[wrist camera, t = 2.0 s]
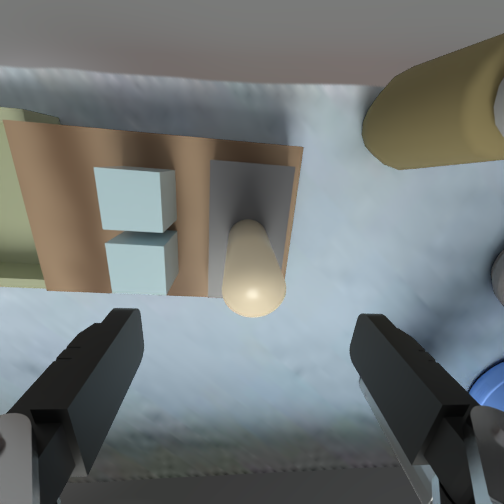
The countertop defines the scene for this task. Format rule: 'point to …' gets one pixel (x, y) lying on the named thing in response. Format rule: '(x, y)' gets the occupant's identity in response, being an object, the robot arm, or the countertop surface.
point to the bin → (17, 213)
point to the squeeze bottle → (442, 111)
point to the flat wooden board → (87, 205)
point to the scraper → (248, 234)
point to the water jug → (490, 388)
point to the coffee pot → (498, 277)
